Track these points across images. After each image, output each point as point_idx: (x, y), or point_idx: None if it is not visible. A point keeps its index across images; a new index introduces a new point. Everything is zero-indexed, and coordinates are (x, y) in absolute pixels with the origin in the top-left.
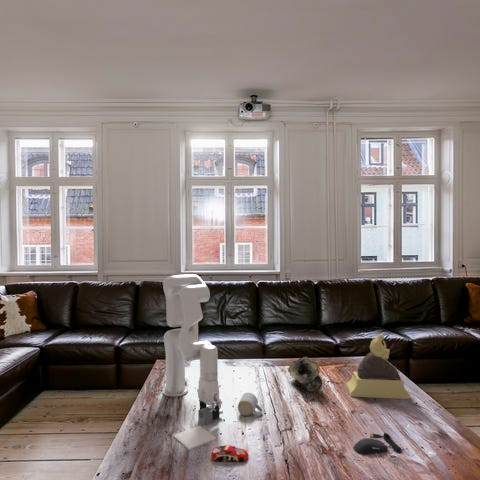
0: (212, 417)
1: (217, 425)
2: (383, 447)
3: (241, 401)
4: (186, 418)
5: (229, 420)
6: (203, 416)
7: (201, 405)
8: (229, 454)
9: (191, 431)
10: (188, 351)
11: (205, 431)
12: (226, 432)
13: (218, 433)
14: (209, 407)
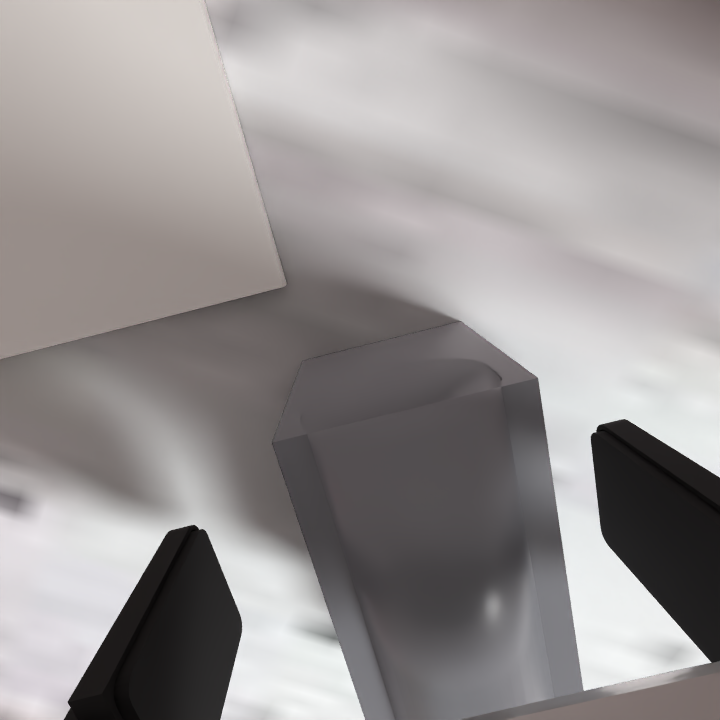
0: (174, 551)
1: (232, 526)
2: None
3: None
4: (655, 165)
5: (300, 681)
6: (302, 409)
7: (685, 516)
8: None
9: (121, 79)
10: None
11: (56, 315)
12: (15, 567)
13: (14, 473)
14: (436, 653)
